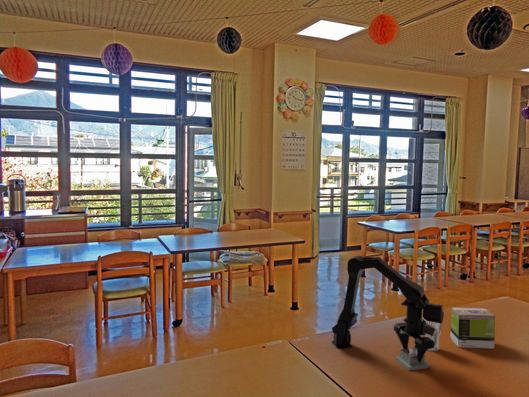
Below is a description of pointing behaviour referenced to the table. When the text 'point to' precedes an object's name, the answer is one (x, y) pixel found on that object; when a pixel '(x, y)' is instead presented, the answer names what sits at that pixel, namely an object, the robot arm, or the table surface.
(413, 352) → the shaft block
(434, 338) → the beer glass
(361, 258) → the robot arm
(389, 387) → the table surface
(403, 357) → the square ring block
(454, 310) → the tea box
